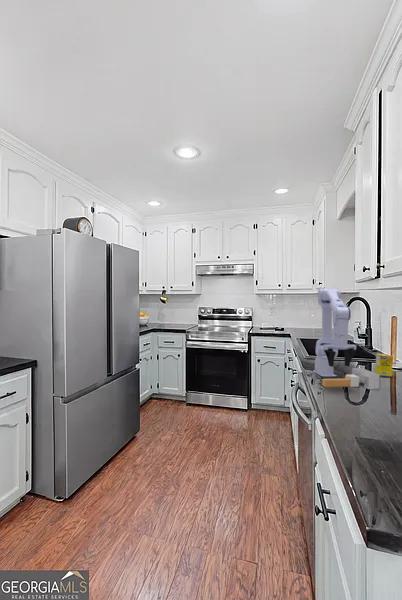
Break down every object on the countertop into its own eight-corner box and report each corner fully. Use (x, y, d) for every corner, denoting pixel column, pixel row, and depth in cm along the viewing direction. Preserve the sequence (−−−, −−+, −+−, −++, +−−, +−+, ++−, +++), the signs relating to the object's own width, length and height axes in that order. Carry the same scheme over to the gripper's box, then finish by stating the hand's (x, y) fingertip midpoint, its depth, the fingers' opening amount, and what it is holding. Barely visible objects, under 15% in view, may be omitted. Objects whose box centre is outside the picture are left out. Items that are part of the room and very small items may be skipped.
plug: (321, 384, 139) (321, 375, 139) (355, 384, 142) (355, 374, 142) (326, 387, 135) (326, 377, 135) (361, 386, 138) (361, 376, 138)
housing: (351, 381, 146) (352, 368, 146) (361, 381, 147) (361, 368, 147) (368, 389, 135) (369, 374, 134) (378, 389, 135) (379, 374, 135)
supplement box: (392, 378, 155) (393, 356, 154) (379, 377, 156) (380, 355, 156) (387, 374, 160) (388, 354, 160) (374, 374, 162) (375, 353, 161)
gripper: (330, 336, 127) (329, 368, 128) (361, 336, 130) (360, 368, 130) (321, 333, 134) (319, 364, 134) (350, 333, 137) (349, 364, 137)
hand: (339, 366), depth 133 cm, fingers open, 7 cm apart
